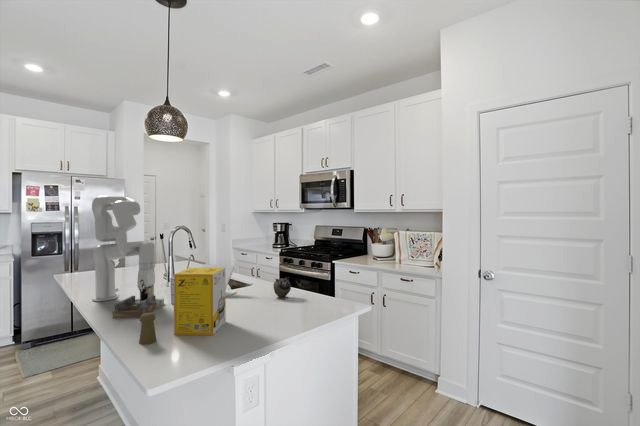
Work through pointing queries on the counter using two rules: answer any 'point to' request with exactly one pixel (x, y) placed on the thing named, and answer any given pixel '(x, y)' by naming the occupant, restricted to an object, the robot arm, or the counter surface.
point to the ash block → (149, 292)
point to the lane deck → (136, 307)
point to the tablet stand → (227, 274)
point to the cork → (147, 329)
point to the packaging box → (199, 301)
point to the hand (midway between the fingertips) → (147, 299)
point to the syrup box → (172, 289)
